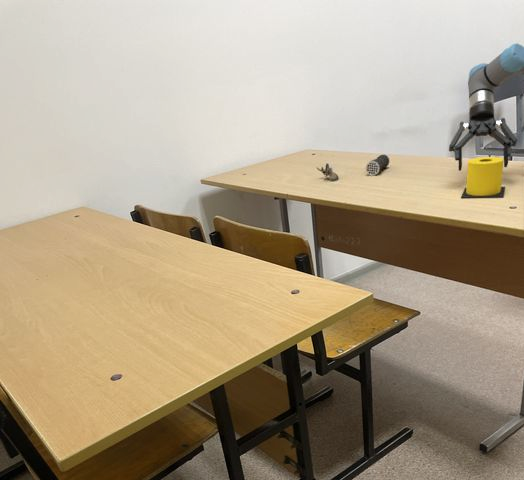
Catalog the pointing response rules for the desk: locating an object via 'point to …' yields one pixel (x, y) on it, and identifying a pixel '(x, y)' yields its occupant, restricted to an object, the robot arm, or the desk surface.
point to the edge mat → (499, 195)
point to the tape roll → (484, 176)
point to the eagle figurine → (329, 172)
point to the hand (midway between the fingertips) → (483, 166)
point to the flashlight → (377, 165)
